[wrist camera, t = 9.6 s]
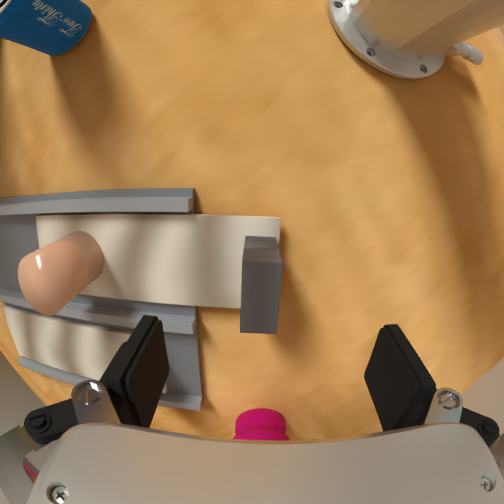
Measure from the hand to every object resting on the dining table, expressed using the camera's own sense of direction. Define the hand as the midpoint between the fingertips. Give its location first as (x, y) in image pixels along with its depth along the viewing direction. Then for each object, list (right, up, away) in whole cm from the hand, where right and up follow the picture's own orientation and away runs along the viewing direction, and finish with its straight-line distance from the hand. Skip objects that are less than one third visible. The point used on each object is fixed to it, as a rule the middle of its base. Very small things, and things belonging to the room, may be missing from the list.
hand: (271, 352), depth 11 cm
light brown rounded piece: (-17, +4, +12) cm, 21 cm away
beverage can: (-20, +27, +6) cm, 34 cm away
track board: (-20, -1, +15) cm, 25 cm away
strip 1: (-11, +4, +13) cm, 17 cm away
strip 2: (-22, -7, +16) cm, 28 cm away
